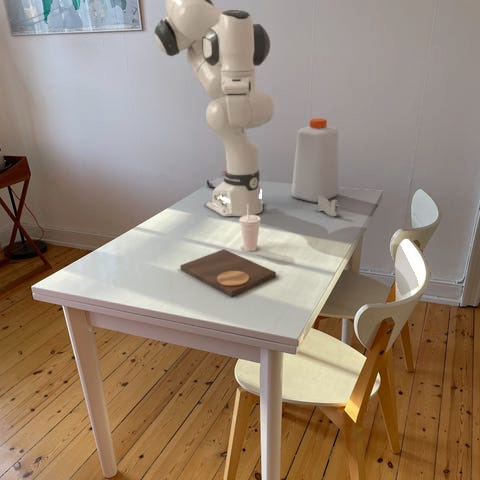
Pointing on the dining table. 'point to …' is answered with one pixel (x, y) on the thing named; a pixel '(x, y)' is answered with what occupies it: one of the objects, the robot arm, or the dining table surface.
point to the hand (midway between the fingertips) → (239, 137)
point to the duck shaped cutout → (328, 206)
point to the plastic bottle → (316, 162)
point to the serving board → (228, 272)
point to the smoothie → (250, 230)
